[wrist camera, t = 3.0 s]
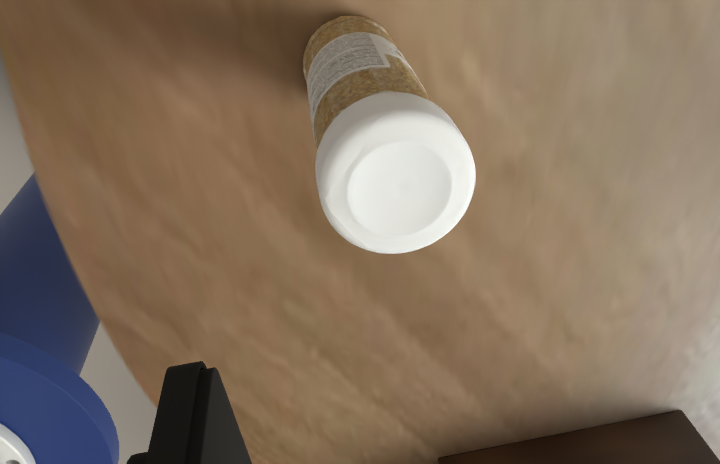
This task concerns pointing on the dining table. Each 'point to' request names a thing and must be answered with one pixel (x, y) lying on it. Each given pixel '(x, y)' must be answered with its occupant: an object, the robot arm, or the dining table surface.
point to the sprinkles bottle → (381, 142)
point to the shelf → (606, 445)
